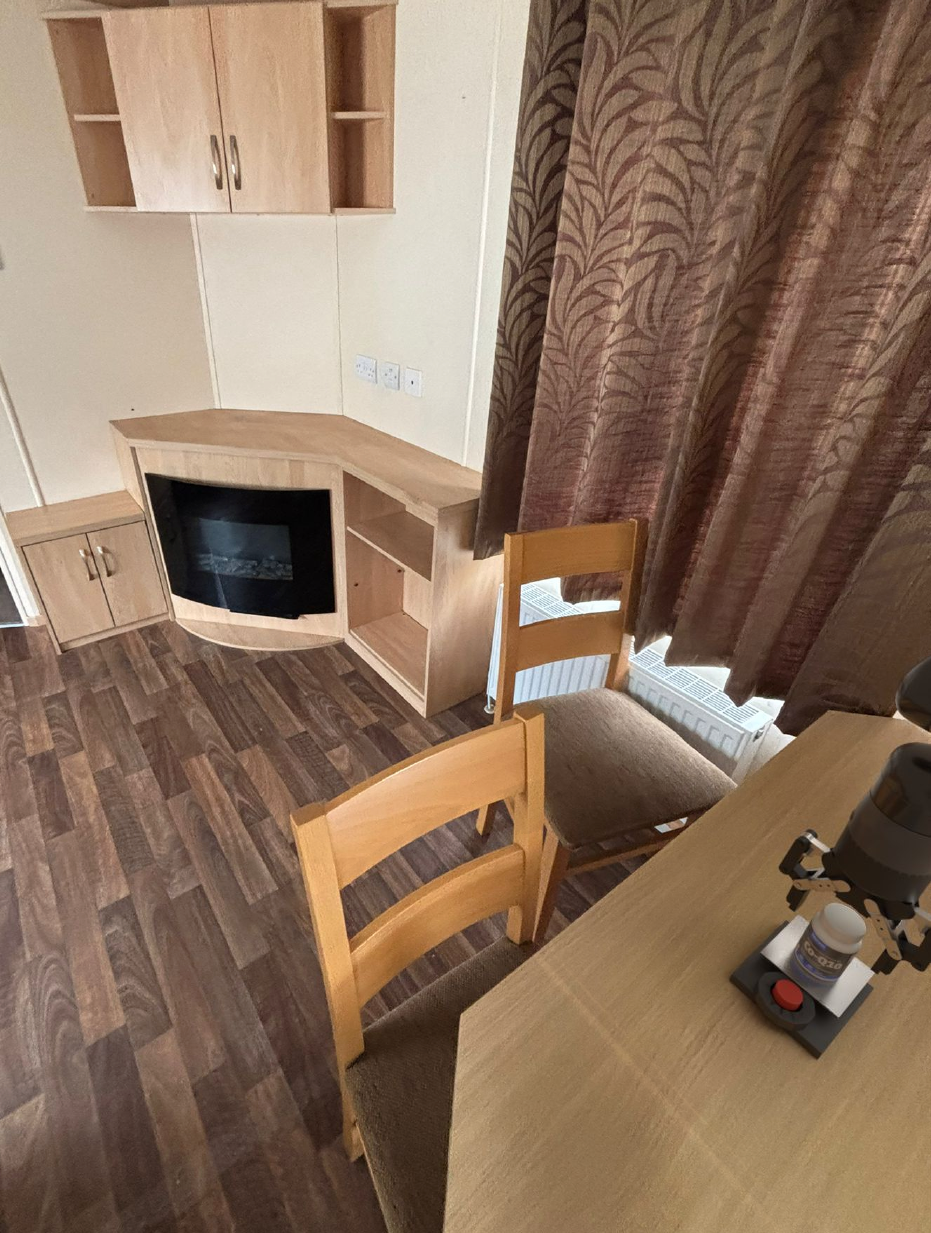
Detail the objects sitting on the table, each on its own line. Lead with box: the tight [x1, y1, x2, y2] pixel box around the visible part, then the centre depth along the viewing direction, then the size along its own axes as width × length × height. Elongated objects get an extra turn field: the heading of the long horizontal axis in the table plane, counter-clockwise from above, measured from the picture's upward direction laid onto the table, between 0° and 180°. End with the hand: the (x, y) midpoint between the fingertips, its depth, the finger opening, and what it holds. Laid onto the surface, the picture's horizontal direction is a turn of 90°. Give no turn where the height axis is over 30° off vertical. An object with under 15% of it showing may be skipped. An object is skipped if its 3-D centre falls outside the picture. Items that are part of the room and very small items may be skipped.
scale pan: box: [760, 913, 876, 1019], centre depth 71 cm, size 9×9×1 cm
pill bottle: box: [795, 902, 867, 981], centre depth 68 cm, size 5×5×8 cm
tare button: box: [772, 980, 803, 1011], centre depth 68 cm, size 3×3×1 cm
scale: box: [729, 920, 875, 1060], centre depth 70 cm, size 13×10×3 cm
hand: (834, 935), depth 68 cm, fingers open, 8 cm apart
